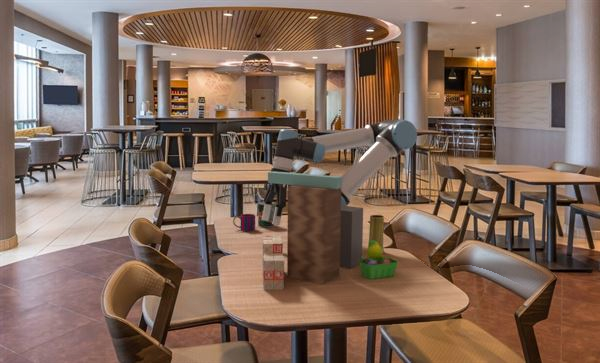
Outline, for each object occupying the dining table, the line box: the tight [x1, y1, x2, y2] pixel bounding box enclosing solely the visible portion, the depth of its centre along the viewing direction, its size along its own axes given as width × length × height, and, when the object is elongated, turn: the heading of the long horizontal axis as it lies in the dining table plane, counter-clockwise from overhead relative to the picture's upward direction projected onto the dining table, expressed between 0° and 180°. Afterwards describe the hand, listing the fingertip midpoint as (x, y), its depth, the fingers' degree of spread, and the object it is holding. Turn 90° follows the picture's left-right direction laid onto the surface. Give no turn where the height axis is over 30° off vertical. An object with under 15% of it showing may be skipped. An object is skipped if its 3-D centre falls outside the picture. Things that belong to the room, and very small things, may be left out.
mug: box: [232, 213, 256, 232], centre depth 246 cm, size 7×10×7 cm
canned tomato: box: [257, 201, 276, 228], centre depth 255 cm, size 8×8×11 cm
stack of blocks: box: [262, 235, 285, 291], centre depth 172 cm, size 21×6×12 cm, turn 5°
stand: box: [286, 185, 341, 285], centre depth 174 cm, size 14×10×30 cm
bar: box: [267, 171, 342, 189], centre depth 174 cm, size 26×4×4 cm, turn 58°
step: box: [340, 205, 364, 269], centre depth 191 cm, size 12×9×20 cm
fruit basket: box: [359, 240, 399, 280], centre depth 178 cm, size 11×9×11 cm
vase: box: [368, 214, 385, 254], centre depth 207 cm, size 6×6×14 cm
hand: (270, 222), depth 208 cm, fingers open, 13 cm apart
